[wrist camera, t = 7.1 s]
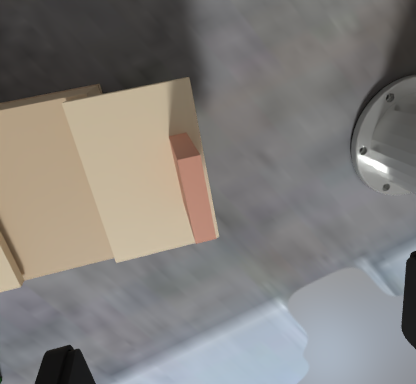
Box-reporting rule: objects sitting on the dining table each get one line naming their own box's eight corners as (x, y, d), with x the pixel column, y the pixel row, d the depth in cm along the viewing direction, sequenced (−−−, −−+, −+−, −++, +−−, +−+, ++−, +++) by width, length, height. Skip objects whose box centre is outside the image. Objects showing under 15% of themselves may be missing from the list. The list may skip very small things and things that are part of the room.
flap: (187, 76, 22) (205, 84, 16) (216, 231, 26) (238, 281, 20) (64, 101, 21) (35, 118, 15) (116, 256, 25) (110, 315, 20)
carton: (100, 82, 28) (86, 92, 21) (137, 209, 33) (136, 252, 26) (-104, 122, 27) (-195, 148, 19) (-34, 250, 31) (-86, 308, 24)
